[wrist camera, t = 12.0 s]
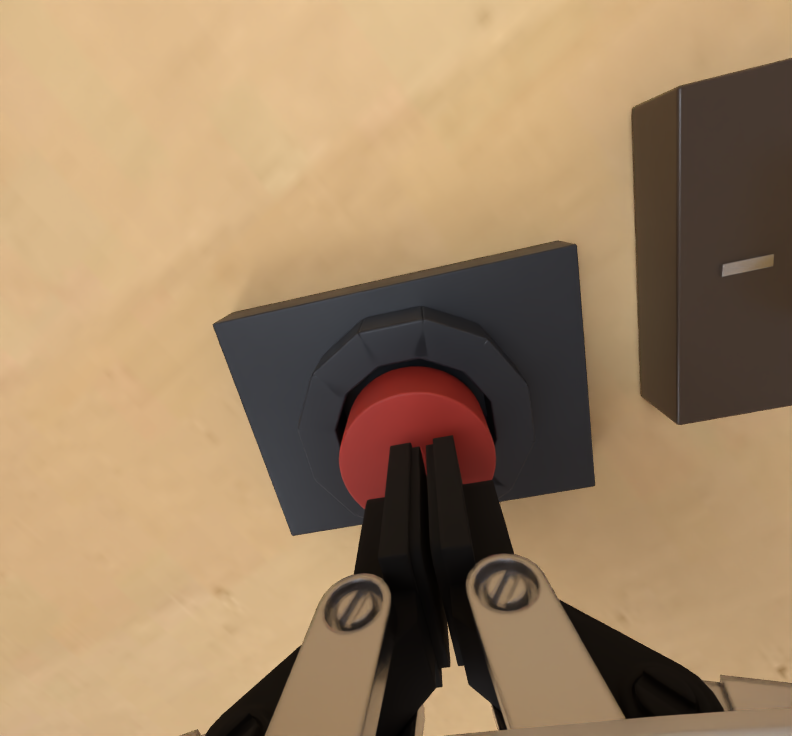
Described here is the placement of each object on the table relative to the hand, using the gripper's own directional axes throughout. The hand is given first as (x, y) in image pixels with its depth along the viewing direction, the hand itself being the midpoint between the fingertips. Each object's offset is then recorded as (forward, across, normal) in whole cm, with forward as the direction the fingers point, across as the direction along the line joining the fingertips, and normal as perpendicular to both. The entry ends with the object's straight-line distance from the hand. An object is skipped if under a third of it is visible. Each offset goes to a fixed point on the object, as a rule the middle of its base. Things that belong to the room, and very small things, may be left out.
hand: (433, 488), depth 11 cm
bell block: (+6, 0, 0) cm, 6 cm away
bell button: (+3, 0, 0) cm, 3 cm away
